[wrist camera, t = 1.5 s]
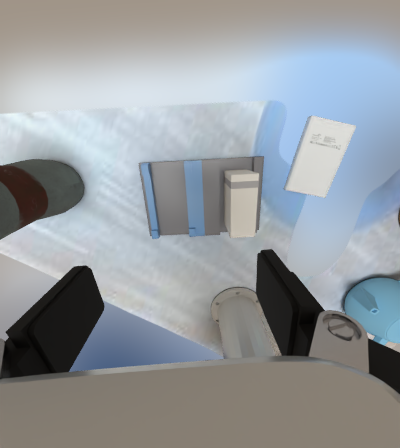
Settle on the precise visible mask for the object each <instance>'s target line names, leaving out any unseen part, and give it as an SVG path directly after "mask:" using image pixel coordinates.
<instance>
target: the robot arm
mask: <svg viewBox="0 0 400 448" xmlns="http://www.w3.org/2000/svg"><path fill="white" fill-rule="evenodd" d="M103 311H104V303H103V300H102V297H101V295H100V292H99V289H98V286H97V284H96V281H95V278H94V275H93V273H92V270H91V268H88V266H75V267H73V268H72V269H71V270H70V271H69V272H68V273H67V274H66V275H65V276H64V277H63V278H62V279H61V280H59V282H57V283H56V284H55V285H54V286H53V287H52V288H51V289H50V290H49V291H48V292H47V293H46V294H45V295H44V296H43V297H42V298H41V299H40V300H39V301H38V302H37V303H35V304H34V305H33V306H32V307H31V308H30V309H29V310H28V311H27V312H26V313H25V314H24V315H23V316H22V317H21V318H20V319H19V320H18V321H17V322H16V323H15V324H14V325H12V326H11V327H10V328H9V329H8V330H7V331H6V333H7V335H8V336H9V338H8V339H7V340H6V341H4V340H3V339H0V448H400V353H399V352H397V351H395V350H393V349H391V348H388V347H386V346H384V345H382V344H380V343H378V342H375V341H373V340H371V339H369V338H368V336H367V332H366V331H365V329H364V328H363V326H362V325H361V324H360V323H359V322H358V321H357V320H355V319H354V318H352V317H350V316H349V315H346V314H344V313H342V312H338V311H332V310H328V311H325V310H324V309H323V308H322V307H321V305H320V304H319V303H318V302H317V300H316V299H315V298H314V297H313V296H312V294H311V293H310V292H309V291H308V289H307V288H306V287H305V286H304V284H303V283H302V282H301V281H300V280H299V278H298V277H297V276H296V275H295V274H294V273H293V272H290V271H289V270H288V268H287V267H286V266H285V265H284V263H283V262H282V261H281V260H280V258H279V257H278V256H277V255H276V253H275V252H274V251H273V250H272V249H270V250H261V253H258V256H257V282H256V293H255V292H253V291H251V290H249V289H246V288H232V289H228V290H225V291H223V292H222V293H220V294H219V295H218V296H217V297H216V298H215V299H214V301H213V302H212V305H211V315H212V318H213V320H214V321H215V322H216V323H217V324H218V325H219V326H220V333H221V340H222V348H223V355H224V359H220V360H207V361H195V362H181V363H169V364H157V365H144V366H133V367H121V368H109V369H98V370H87V371H76V372H69V370H70V368H71V367H72V365H73V363H74V361H75V360H76V358H77V356H78V355H79V353H80V351H81V349H82V348H83V346H84V344H85V342H86V341H87V339H88V337H89V335H90V334H91V332H92V330H93V328H94V327H95V325H96V323H97V321H98V319H99V318H100V316H101V314H102V312H103ZM262 311H263V312H264V315H265V317H266V319H267V322H268V324H269V326H270V329H271V331H272V333H273V336H274V338H275V340H276V343H277V345H278V347H279V350H280V352H281V354H282V356H276V354H275V352H274V349H273V347H272V344H271V342H270V339H269V337H268V334H267V332H266V329H265V327H264V324H263V322H262V319H261V317H260V316H261V314H262Z"/></svg>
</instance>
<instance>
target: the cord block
mask: <svg viewBox="0 0 400 448" xmlns="http://www.w3.org/2000/svg"><path fill="white" fill-rule="evenodd" d="M258 187H259V173H256V172H253V171H250V170H247V169H244V170H226V171H224V223H225V226H226V228H227V230H228V233H229V235H230V238H238V237H255V229H256V213H257V198H258Z"/></svg>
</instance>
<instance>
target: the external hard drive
mask: <svg viewBox="0 0 400 448" xmlns="http://www.w3.org/2000/svg"><path fill="white" fill-rule="evenodd" d="M355 128H356V126H355V125H350V124H346V123H341V122H337V121H333V120H329V119H324V118H320V117H316V116H310V117H308V118H307V121H306V124H305V127H304V130H303V133H302V135H301V138H300V141H299V144H298V147H297V150H296V153H295V156H294V159H293V162H292V164H291V169H290V172H289V175H288V177H287V180H286V183H285V186H284V190H288V191H293V192H298V193H303V194H309V195H314V196H319V197H324V198H325V197H326V195H327V193H328V190H329V188H330V186H331V183H332V181H333V179H334V176H335V174H336V172H337V169H338V167H339V165H340V163H341V160H342V158H343V156H344V153H345V151H346V149H347V147H348V144H349V142H350V139H351V137H352V135H353V133H354V130H355Z"/></svg>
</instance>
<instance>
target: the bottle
mask: <svg viewBox="0 0 400 448" xmlns="http://www.w3.org/2000/svg"><path fill="white" fill-rule="evenodd" d="M83 192H84V186H83V182H82V180H81V178H80V176H79V175H78V174H77V172H76V171H75V170H74V169H72V168H71V167H69V166H67V165H65V164H62V163H59V162H56V161H51V160H42V159H31V160H25V161H20V162H15V163H11V164H7V165H3V166H0V240H1V239H2V238H4V237H6V236H8V235H9V234H11V233H13V232H15V231H17V230H19V229H21V228H23V227H24V226H26V225H28V224H30V223H32V222H34V221H36V220H39V219H43V218H47V217H51V216H54V215H58V214H61V213H64V212H66V211H67V210H69V209H70V208H72V207H73V206H74V205H76V204H77V203H78V202H79V201H80V199H81V198H82V196H83Z"/></svg>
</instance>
